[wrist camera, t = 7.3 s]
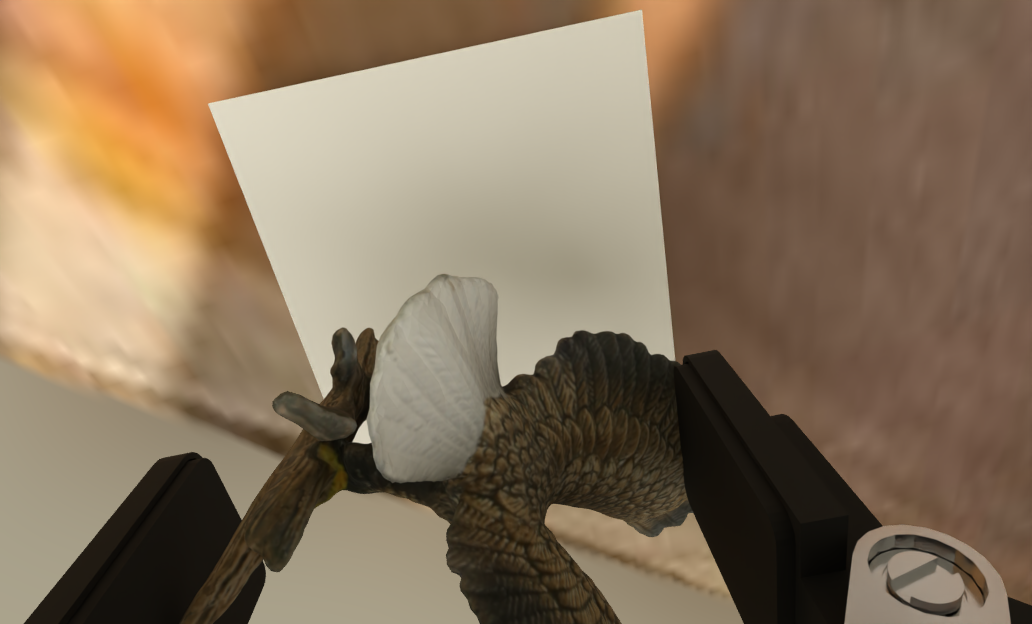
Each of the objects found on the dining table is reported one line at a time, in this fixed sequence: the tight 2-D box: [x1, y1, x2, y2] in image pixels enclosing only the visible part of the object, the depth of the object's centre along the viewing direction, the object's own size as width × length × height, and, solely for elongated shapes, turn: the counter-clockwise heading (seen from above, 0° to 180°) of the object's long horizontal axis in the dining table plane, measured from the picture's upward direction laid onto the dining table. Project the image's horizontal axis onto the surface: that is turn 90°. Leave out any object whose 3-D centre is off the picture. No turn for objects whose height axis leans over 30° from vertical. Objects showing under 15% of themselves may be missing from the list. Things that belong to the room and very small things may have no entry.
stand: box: [208, 10, 675, 444], centre depth 23 cm, size 14×14×5 cm
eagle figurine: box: [179, 274, 693, 624], centre depth 10 cm, size 8×7×9 cm
